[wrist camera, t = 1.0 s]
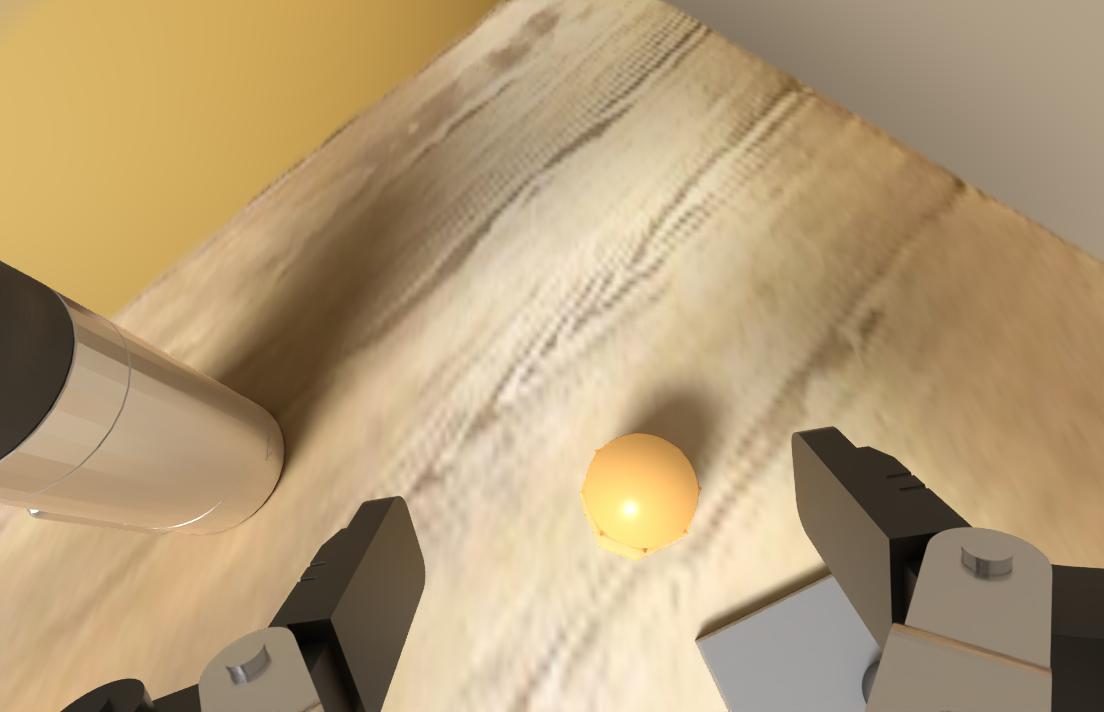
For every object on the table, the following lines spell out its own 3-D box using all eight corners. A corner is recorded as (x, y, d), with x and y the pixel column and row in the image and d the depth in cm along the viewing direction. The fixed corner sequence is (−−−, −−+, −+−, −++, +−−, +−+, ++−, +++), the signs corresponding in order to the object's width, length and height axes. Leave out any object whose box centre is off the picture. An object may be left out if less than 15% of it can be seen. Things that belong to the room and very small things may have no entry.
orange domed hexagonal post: (610, 573, 35) (614, 567, 28) (572, 486, 37) (566, 460, 30) (694, 534, 36) (720, 517, 28) (651, 450, 38) (665, 415, 30)
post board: (813, 887, 29) (885, 985, 22) (694, 640, 33) (722, 653, 26) (1081, 740, 30) (1233, 786, 23) (933, 523, 35) (1022, 504, 28)
